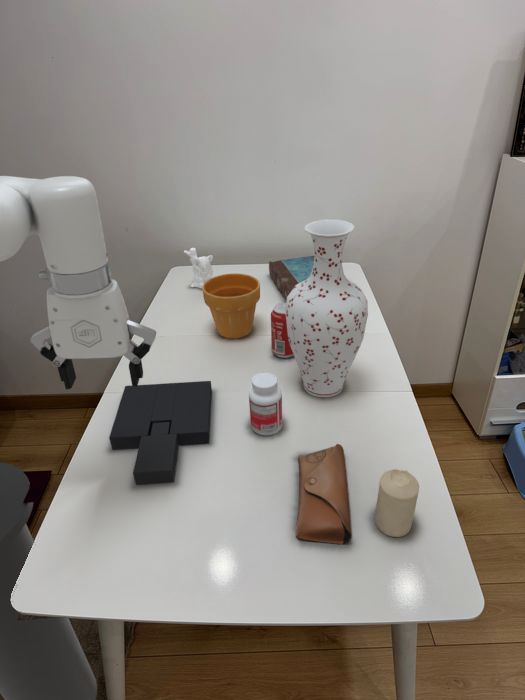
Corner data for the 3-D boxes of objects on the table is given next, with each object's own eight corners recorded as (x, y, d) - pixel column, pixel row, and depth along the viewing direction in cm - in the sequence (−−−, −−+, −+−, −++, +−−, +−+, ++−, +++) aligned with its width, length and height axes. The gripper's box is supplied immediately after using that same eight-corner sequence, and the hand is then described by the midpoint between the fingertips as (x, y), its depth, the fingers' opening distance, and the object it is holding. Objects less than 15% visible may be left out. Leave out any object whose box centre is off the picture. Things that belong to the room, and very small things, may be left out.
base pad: (112, 449, 90) (108, 437, 89) (127, 397, 104) (125, 385, 102) (209, 443, 91) (207, 431, 89) (212, 392, 104) (210, 380, 103)
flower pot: (198, 340, 123) (193, 294, 116) (218, 314, 134) (214, 270, 127) (252, 347, 119) (249, 300, 112) (268, 320, 130) (266, 275, 123)
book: (269, 276, 155) (268, 261, 152) (321, 269, 158) (321, 254, 156) (289, 307, 136) (289, 291, 134) (348, 298, 140) (349, 282, 137)
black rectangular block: (135, 485, 83) (132, 472, 81) (146, 435, 93) (144, 423, 92) (174, 482, 83) (171, 470, 81) (180, 433, 94) (178, 421, 92)
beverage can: (303, 351, 117) (303, 306, 110) (286, 362, 113) (286, 317, 106) (283, 342, 120) (282, 299, 114) (266, 353, 117) (264, 308, 110)
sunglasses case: (295, 453, 87) (315, 429, 84) (328, 468, 89) (349, 445, 85) (294, 540, 72) (318, 515, 69) (334, 557, 74) (360, 533, 70)
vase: (298, 415, 97) (299, 247, 78) (277, 370, 110) (274, 218, 92) (373, 401, 100) (391, 236, 81) (344, 359, 113) (354, 209, 94)
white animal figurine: (185, 290, 148) (180, 252, 142) (191, 280, 154) (186, 244, 148) (212, 290, 147) (209, 253, 141) (217, 281, 153) (214, 244, 147)
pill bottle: (265, 411, 98) (263, 366, 92) (288, 424, 95) (288, 378, 89) (244, 427, 94) (240, 381, 89) (267, 441, 91) (265, 394, 85)
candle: (367, 519, 75) (372, 473, 70) (391, 502, 78) (398, 456, 73) (394, 544, 71) (403, 497, 66) (419, 524, 74) (428, 478, 69)
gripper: (2, 290, 60) (36, 400, 69) (143, 286, 61) (159, 395, 70) (23, 267, 67) (52, 370, 76) (151, 264, 68) (164, 366, 77)
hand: (104, 382), depth 73 cm, fingers open, 9 cm apart
